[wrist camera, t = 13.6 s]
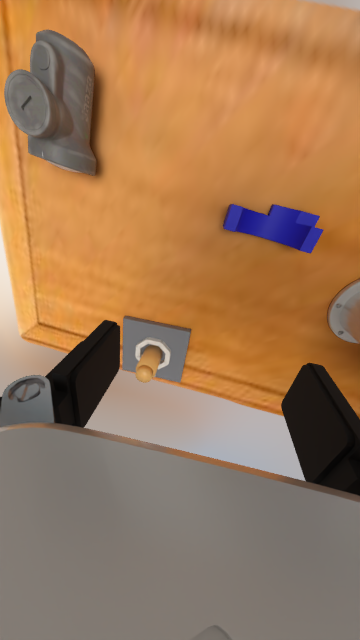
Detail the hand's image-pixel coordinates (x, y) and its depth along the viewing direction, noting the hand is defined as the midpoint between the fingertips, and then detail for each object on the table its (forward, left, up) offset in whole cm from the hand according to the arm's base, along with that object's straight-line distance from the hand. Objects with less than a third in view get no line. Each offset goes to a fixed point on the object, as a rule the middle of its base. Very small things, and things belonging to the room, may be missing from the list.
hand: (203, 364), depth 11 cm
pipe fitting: (+22, -15, -29) cm, 39 cm away
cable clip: (-7, -7, -29) cm, 30 cm away
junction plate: (+8, +22, -28) cm, 37 cm away
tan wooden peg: (+8, +22, -27) cm, 36 cm away
